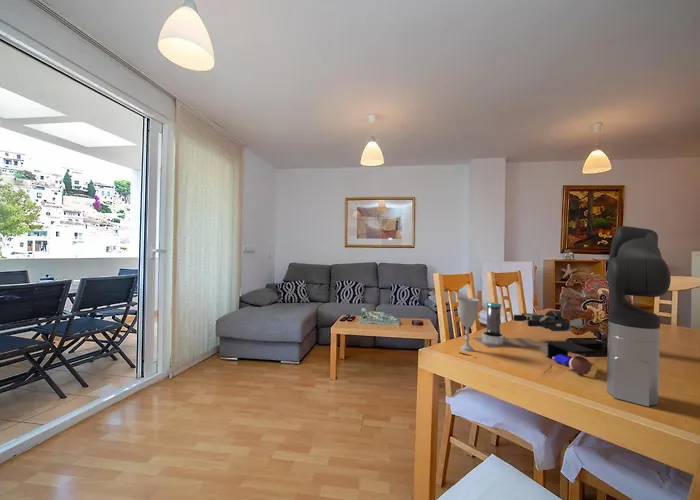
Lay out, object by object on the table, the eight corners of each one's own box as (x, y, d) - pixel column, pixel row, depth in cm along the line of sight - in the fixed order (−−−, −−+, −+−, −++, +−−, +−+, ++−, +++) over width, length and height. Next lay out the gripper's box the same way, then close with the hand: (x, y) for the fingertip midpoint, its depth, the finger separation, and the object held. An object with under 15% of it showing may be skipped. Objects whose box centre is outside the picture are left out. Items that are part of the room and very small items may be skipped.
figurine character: (539, 363, 101) (575, 376, 86) (538, 338, 102) (573, 347, 87) (559, 363, 101) (599, 376, 86) (558, 339, 102) (597, 348, 87)
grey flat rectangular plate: (527, 341, 121) (527, 338, 121) (549, 351, 109) (549, 347, 109) (471, 340, 120) (471, 337, 120) (487, 350, 108) (487, 347, 108)
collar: (500, 346, 109) (500, 338, 109) (478, 342, 114) (478, 333, 114) (507, 342, 114) (507, 334, 114) (485, 338, 120) (486, 330, 120)
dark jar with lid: (497, 345, 111) (498, 305, 111) (483, 342, 114) (484, 303, 114) (502, 342, 114) (503, 303, 114) (488, 339, 118) (489, 302, 118)
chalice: (451, 350, 107) (452, 297, 107) (468, 349, 109) (469, 297, 109) (465, 357, 100) (466, 301, 100) (482, 355, 102) (484, 300, 102)
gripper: (550, 307, 123) (509, 306, 122) (578, 314, 109) (533, 314, 108) (549, 326, 123) (509, 326, 122) (578, 336, 109) (533, 335, 108)
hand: (520, 320), depth 115 cm, fingers open, 8 cm apart
